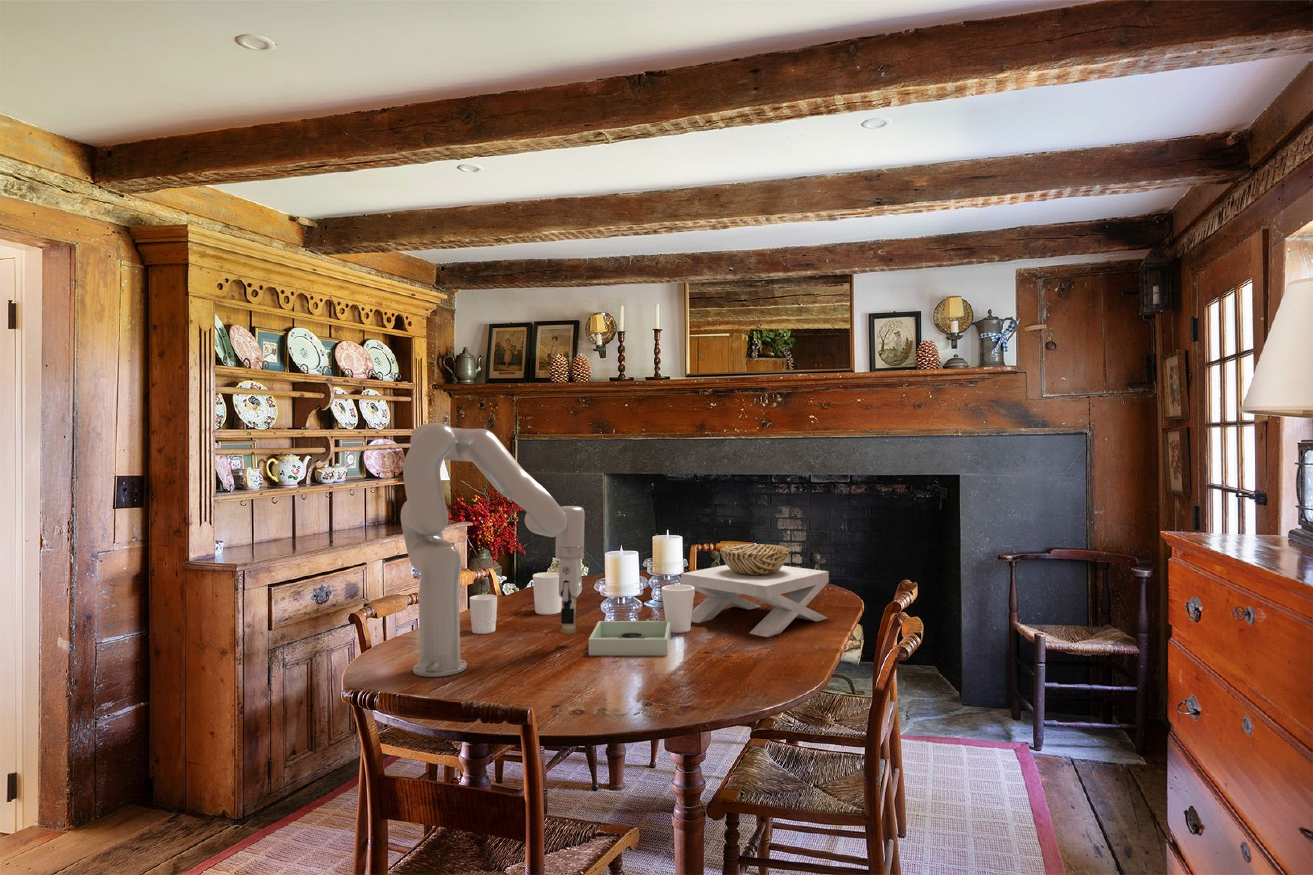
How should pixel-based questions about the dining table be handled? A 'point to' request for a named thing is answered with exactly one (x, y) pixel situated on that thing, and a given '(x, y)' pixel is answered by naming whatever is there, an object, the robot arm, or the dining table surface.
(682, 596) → the foam cup
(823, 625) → the dining table surface
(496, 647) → the dining table surface
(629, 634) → the wick clip
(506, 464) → the robot arm
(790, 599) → the grey stool with basket
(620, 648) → the pale green rectangular tray
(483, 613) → the white cup
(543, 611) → the candle holder
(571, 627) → the wick peg
